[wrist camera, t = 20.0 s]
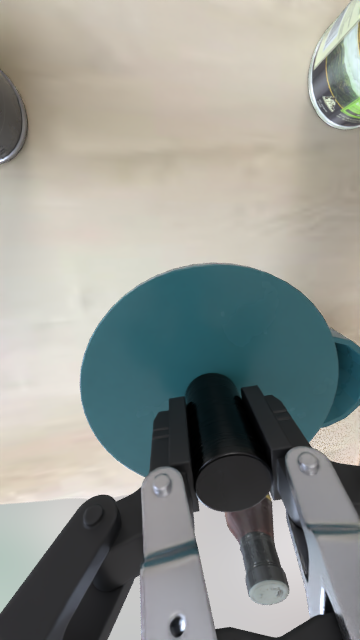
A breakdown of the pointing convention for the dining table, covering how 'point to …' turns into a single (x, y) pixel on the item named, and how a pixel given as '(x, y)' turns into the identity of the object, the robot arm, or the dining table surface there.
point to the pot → (345, 379)
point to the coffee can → (338, 71)
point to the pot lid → (208, 372)
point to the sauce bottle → (259, 552)
